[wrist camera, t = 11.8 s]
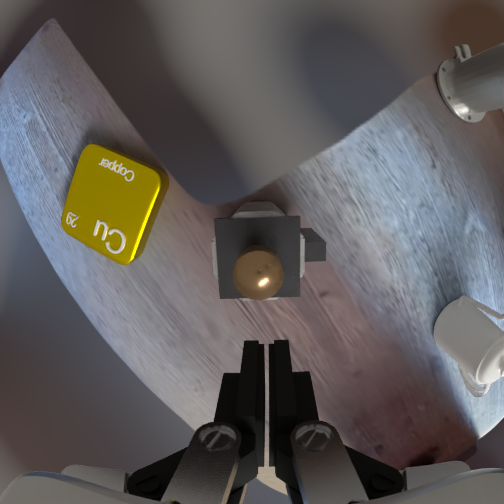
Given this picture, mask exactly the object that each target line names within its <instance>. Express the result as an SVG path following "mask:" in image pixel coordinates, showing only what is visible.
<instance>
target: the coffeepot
mask: <svg viewBox="0 0 504 504" xmlns="http://www.w3.org/2000/svg"><path fill="white" fill-rule="evenodd" d="M477 307H478V308H480V309H481V310H483V311H485V312H487V313H488V314H490V315H492V316H493V317H495V318H497V319H499V320H504V314H500V313H498V312H496V311H494V310H492V309H491V308H489V307H487V306H485V305H483V304H482V303H480V302H478V301H476V300H474V299H473V298H471V297H469V296H466V295H463V296H461V297H460V298H459V299H456V300H454V301H452V302H451V303H449V304H448V305H447V306H446V307H445V308H444V309H443V310H442V312H441V313H440V314H439V316H438V318H437V320H436V323H435V326H434V332H433V335H434V340H435V342H436V344H437V345H438V346H439V347H440V348H441V349H443V350H444V351H445V352H446V353H447V354H448V355H449V356H451V357H452V358H453V359H454V360H455V361H456V362H457V363H458V366H459V370H460V373H461V376H462V379H463V381H464V383H465V385H466V387H467V388H468V390H469V391H470V393H471V394H472V395H474V396H475V397H481V396H483V395H484V394H486V393H487V392H488V390H489V388H490V385H491V383H492V382H494V381H496V380H497V379H498V378H500V377H501V376H502V377H503V376H504V332H503V331H502V330H501V329H500V328H499V327H498V326H497V325H496V324H495V323H494V322H493V321H492V320H491V319H489V318H488V317H487V316H486V315H485V314H484V313H483V312H482V311H481V310H480V309H478V308H477ZM468 372H469V373H470V374H471V375H472V376H473V377H474V379H475V381H476V382H477V383H479V384H486V385H485V387H480V386H479V385H477V384H476V383H475V382H474V381H473V380H472V378H471V377H470V376H469V374H468ZM483 389H485V391H484V393H483V394H481V393H479V392H477V391H481V390H483ZM476 390H477V391H476Z"/></svg>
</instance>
